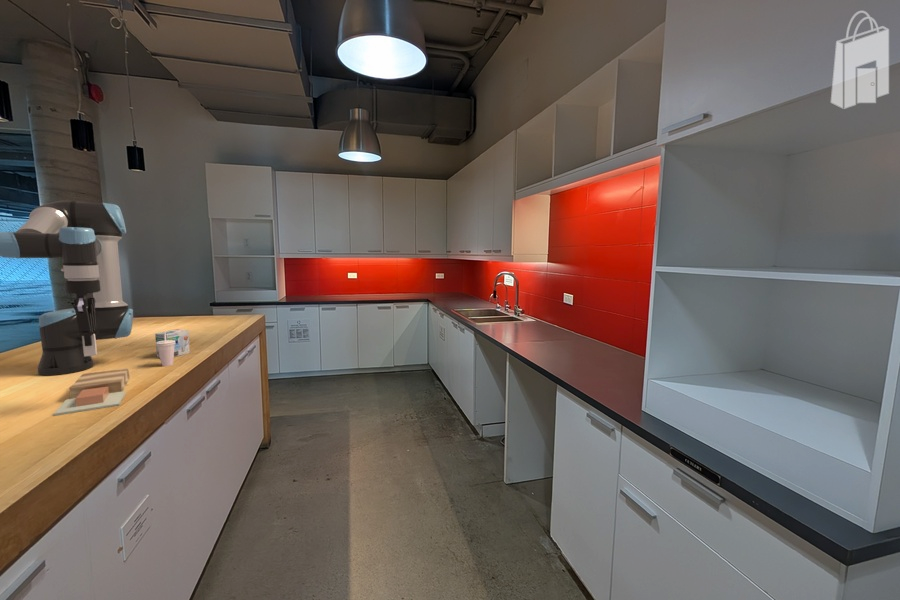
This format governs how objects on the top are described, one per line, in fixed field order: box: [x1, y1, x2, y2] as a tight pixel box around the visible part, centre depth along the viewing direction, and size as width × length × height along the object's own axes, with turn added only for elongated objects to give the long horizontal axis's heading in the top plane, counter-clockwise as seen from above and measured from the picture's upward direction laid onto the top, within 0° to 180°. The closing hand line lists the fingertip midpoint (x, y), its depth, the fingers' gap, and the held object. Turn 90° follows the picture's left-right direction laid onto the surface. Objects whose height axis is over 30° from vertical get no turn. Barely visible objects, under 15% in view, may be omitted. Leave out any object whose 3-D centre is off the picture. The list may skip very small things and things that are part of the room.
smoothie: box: [155, 331, 175, 367], centre depth 152 cm, size 6×6×14 cm
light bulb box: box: [154, 328, 190, 359], centre depth 166 cm, size 11×7×11 cm, turn 167°
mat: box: [53, 390, 127, 417], centre depth 114 cm, size 12×14×1 cm
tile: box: [75, 387, 109, 407], centre depth 115 cm, size 8×6×2 cm
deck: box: [69, 368, 130, 399], centre depth 125 cm, size 16×12×4 cm
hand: (90, 355), depth 116 cm, fingers closed
